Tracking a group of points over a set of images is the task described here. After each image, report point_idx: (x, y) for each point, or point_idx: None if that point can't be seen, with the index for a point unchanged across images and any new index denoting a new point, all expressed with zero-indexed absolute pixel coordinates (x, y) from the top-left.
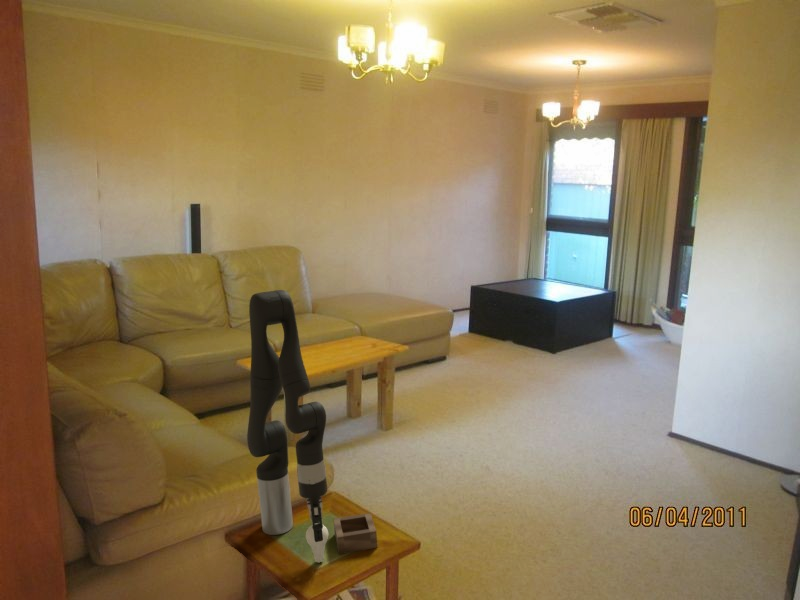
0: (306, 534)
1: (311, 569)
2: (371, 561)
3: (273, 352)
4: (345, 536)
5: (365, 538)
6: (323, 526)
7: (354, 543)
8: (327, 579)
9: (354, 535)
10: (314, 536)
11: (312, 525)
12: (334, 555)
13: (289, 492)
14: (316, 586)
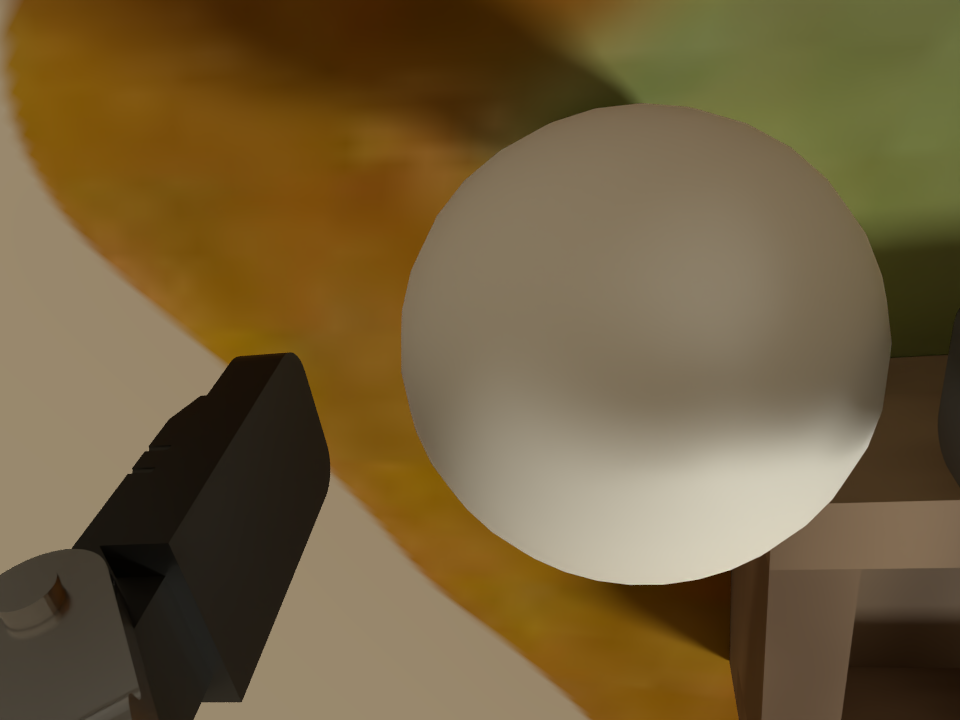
0: (576, 164)
1: (472, 59)
2: (518, 602)
3: None
4: (769, 583)
5: (748, 689)
6: (630, 581)
7: (746, 574)
8: (258, 251)
9: (761, 659)
10: (191, 419)
11: (672, 405)
12: None
13: None
14: (129, 140)
